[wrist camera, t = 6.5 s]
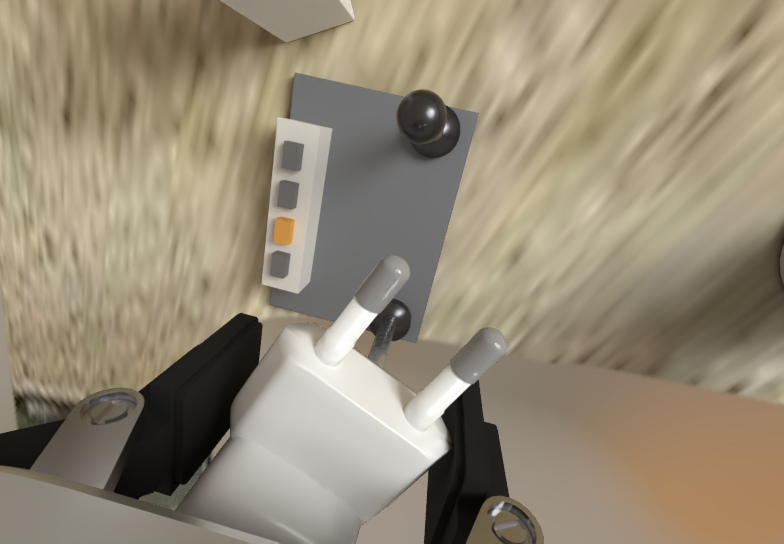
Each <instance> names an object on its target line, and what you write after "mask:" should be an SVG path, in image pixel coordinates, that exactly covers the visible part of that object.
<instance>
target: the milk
mask: <svg viewBox="0 0 784 544" xmlns="http://www.w3.org/2000/svg"><path fill="white" fill-rule="evenodd" d="M220 1H221V2H223V3H224V4H226V5H227V6H229V7H231V8H232V9H234V10H235V11H237V12H238V13H240V14H242V15H243V16H245V17H246V18H248V19H249V20H251V21H253V22H254V23H256V24H257V25H259V26H260V27H262V28H264V29H265V30H267V31H268V32H270V33H271V34H273V35H275V36H276V37H278V38H279V39H281V40H282V41H284V42H286V43H287V42H290V41H293V40H296V39H299V38H302V37H306V36H309V35H312V34H315V33H318V32H321V31H324V30H327V29H330V28H333V27H336V26H339V25H342V24H345V23H348V22H351V21H354V14H353V10H352V6H351V1H350V0H220Z"/></svg>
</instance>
